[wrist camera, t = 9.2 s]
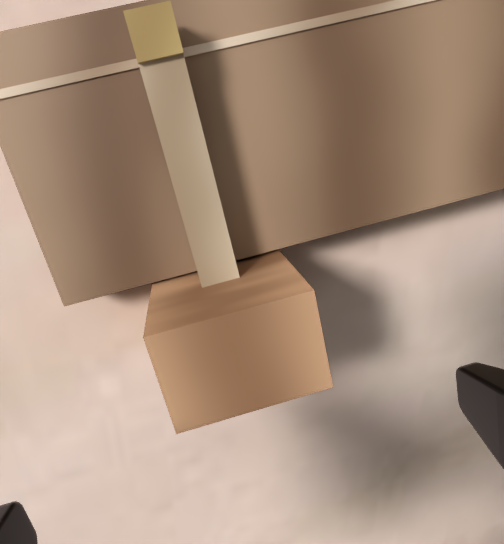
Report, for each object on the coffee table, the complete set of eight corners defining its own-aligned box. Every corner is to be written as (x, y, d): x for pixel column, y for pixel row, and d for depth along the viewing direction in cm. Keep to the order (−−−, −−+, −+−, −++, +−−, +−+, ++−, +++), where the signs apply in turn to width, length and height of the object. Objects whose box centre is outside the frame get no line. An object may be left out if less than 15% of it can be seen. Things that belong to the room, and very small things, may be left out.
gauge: (220, 21, 15) (248, -49, 9) (284, 308, 18) (333, 387, 13) (85, 51, 14) (26, -2, 9) (176, 338, 18) (176, 433, 12)
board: (619, -85, 16) (682, -116, 14) (611, 145, 18) (663, 146, 16) (-12, 53, 14) (-43, 40, 12) (77, 286, 17) (63, 307, 15)
